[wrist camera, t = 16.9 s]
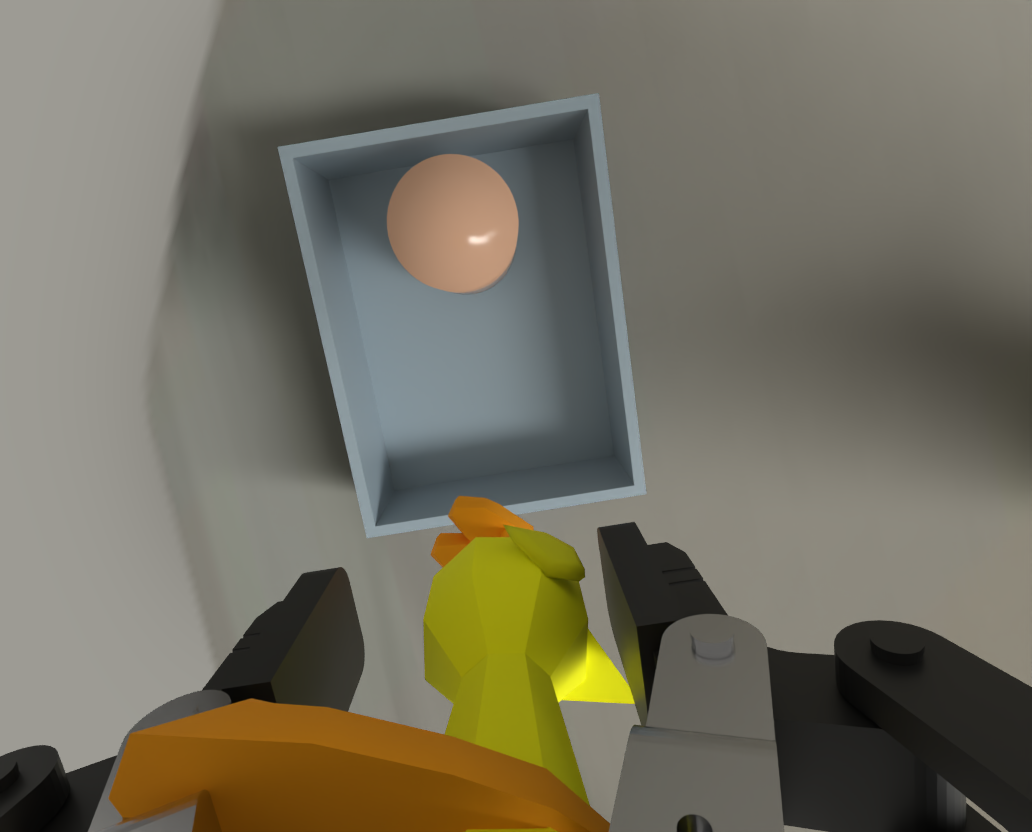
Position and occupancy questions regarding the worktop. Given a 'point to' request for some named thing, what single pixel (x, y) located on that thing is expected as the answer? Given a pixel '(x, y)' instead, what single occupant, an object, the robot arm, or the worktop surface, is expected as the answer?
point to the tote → (474, 323)
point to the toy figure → (407, 750)
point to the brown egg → (453, 224)
